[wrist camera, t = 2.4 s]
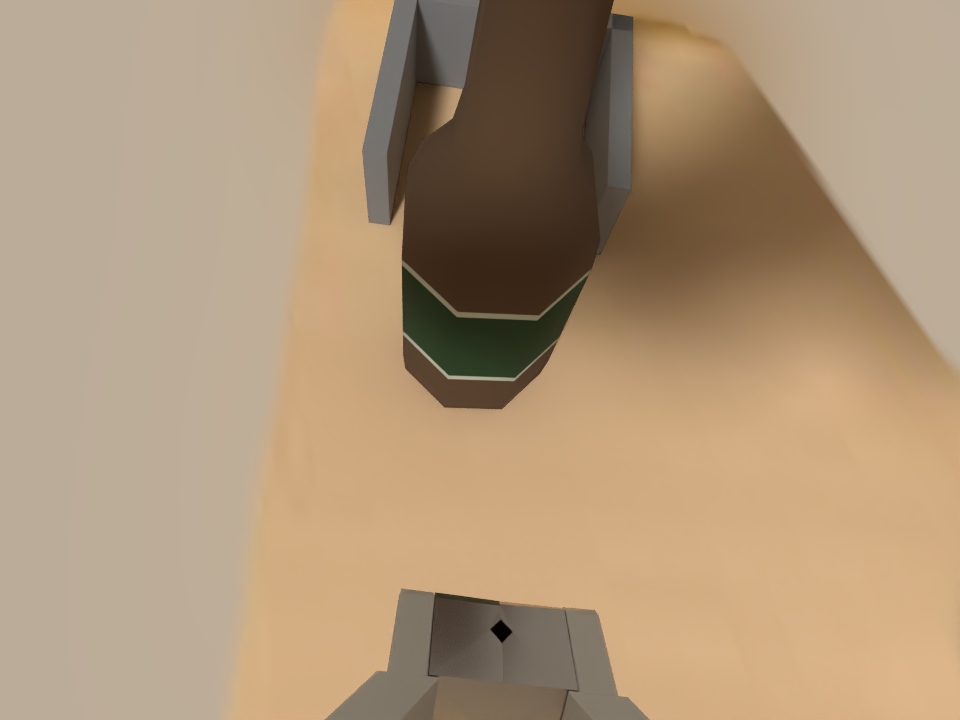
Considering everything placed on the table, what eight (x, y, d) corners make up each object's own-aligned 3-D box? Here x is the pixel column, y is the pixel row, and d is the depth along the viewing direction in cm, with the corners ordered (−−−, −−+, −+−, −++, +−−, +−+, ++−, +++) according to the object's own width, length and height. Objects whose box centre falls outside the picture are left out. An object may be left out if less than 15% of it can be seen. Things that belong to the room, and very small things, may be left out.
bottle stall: (605, 95, 44) (633, 16, 39) (600, 254, 39) (631, 189, 34) (400, 64, 44) (399, -20, 38) (368, 222, 39) (362, 150, 33)
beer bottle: (510, 268, 39) (644, -245, 17) (568, 388, 36) (820, -32, 14) (378, 309, 37) (334, -207, 15) (430, 439, 34) (470, 47, 12)
